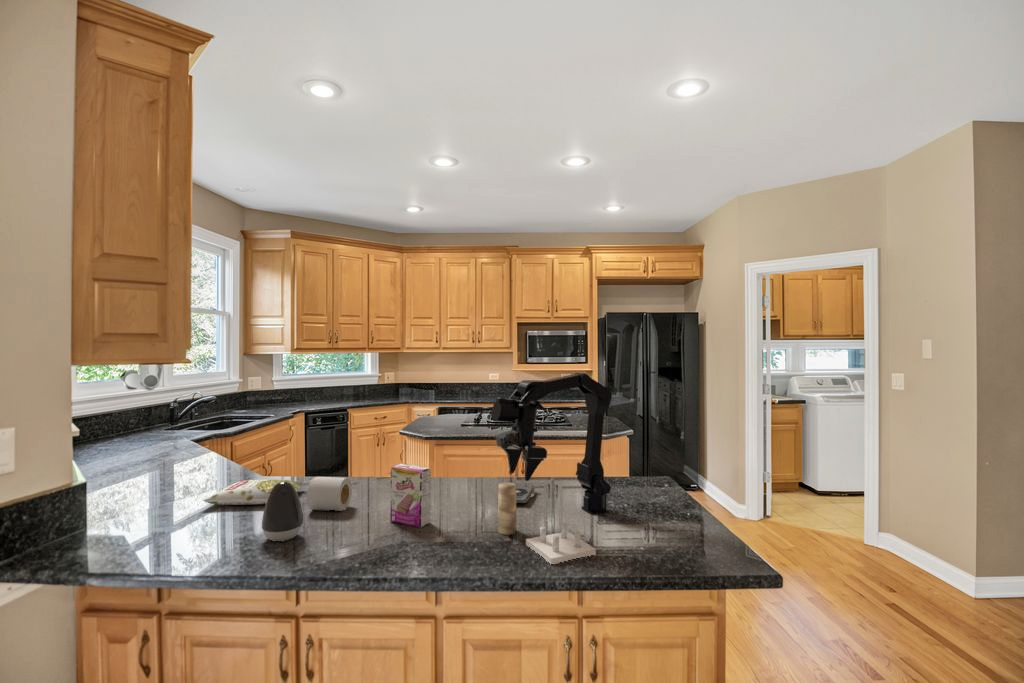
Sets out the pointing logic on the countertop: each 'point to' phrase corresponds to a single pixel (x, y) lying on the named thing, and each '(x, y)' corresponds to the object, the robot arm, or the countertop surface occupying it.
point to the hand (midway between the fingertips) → (519, 476)
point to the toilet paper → (329, 493)
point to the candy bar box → (410, 495)
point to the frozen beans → (247, 492)
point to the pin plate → (560, 545)
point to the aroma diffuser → (282, 513)
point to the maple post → (507, 508)
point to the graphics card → (524, 492)
